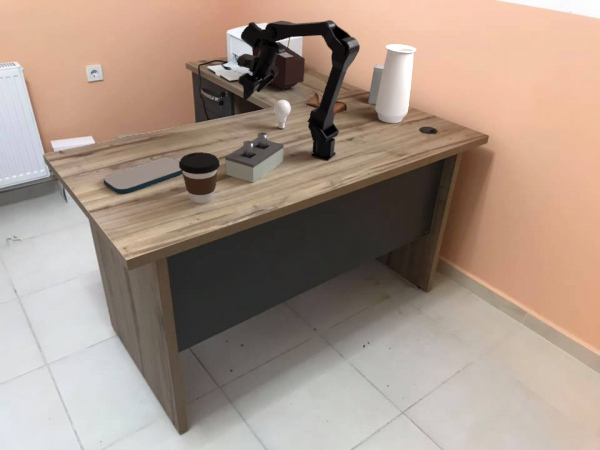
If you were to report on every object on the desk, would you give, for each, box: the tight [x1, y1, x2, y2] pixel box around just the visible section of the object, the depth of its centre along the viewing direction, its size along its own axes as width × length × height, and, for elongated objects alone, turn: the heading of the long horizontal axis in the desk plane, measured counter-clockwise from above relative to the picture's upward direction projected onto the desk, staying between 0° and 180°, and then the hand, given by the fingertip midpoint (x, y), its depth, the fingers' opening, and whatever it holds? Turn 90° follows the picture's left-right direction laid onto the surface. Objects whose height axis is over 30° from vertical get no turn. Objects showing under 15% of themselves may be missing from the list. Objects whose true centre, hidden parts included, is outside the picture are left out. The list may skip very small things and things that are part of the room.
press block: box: [225, 137, 285, 183], centre depth 157 cm, size 10×18×6 cm, turn 152°
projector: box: [251, 37, 306, 91], centre depth 225 cm, size 16×23×25 cm
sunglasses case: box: [304, 92, 348, 116], centre depth 210 cm, size 18×7×7 cm
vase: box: [374, 44, 417, 124], centre depth 195 cm, size 13×13×28 cm
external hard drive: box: [103, 156, 183, 195], centre depth 149 cm, size 24×12×2 cm, turn 136°
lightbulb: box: [273, 99, 292, 130], centre depth 185 cm, size 6×6×11 cm
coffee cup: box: [179, 151, 220, 205], centre depth 137 cm, size 11×11×12 cm
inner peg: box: [257, 132, 268, 149], centre depth 157 cm, size 3×3×6 cm
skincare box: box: [367, 64, 384, 106], centre depth 214 cm, size 8×7×16 cm
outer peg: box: [242, 140, 253, 158], centre depth 151 cm, size 3×3×6 cm
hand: (251, 95), depth 175 cm, fingers open, 9 cm apart
